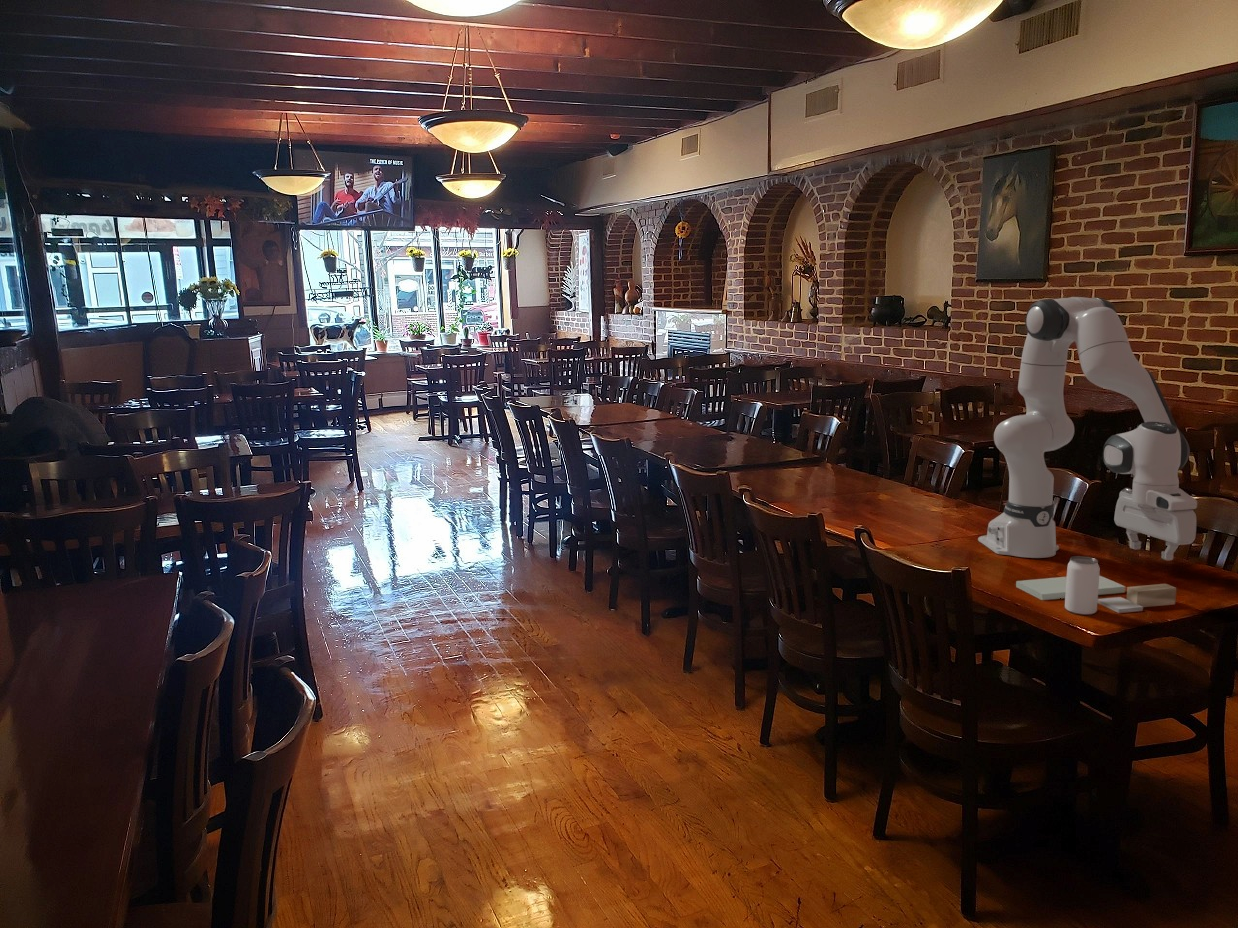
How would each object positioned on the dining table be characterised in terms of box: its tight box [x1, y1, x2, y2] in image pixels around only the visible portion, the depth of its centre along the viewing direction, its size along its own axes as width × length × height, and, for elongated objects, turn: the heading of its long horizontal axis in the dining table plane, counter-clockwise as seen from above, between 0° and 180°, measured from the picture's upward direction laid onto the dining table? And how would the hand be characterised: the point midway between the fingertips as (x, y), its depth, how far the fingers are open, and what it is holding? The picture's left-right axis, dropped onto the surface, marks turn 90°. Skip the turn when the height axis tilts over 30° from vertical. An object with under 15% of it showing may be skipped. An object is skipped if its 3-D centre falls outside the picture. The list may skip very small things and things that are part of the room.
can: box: [1064, 555, 1101, 616], centre depth 195 cm, size 6×6×12 cm
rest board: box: [1015, 574, 1126, 601], centre depth 210 cm, size 10×22×2 cm, turn 100°
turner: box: [1097, 583, 1177, 614], centre depth 199 cm, size 7×16×4 cm, turn 100°
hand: (1150, 554), depth 197 cm, fingers open, 8 cm apart
